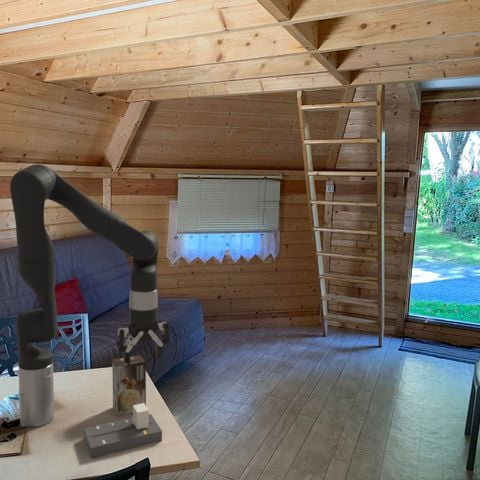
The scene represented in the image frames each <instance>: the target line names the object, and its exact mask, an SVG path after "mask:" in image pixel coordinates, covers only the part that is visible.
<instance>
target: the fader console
mask: <svg viewBox="0 0 480 480" xmlns="http://www.w3.org/2000/svg"><path fill="white" fill-rule="evenodd" d="M83 437H84V438H83V439H84V442H85V445H86V448H87V450H88V454H89V457H90V459H92V460H93V459H94V458H95V459H96V458H99V457H103V456H107V455H111V454H115V453H118V452H119V453H120V452H123V451H127V450H132V449H136V448H139V447H142V446H147V445H151V444H155V443H160V442H163V431H162V429H161V427H160V425H159V424H158V423H157V421H156V419H155V418H154V416H153V415H152V413H149V427H146V428H142V429H138V430H137V428H136V426H135V425H134V423H133V417H131V418H126V419H122V420H118V421H112V422H109V423H104V424H99V425H95V426H94V425H93V426H90V427H89V426H88V427H85V428H84V429H83Z"/></svg>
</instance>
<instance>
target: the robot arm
mask: <svg viewBox="0 0 480 480" xmlns="http://www.w3.org/2000/svg"><path fill="white" fill-rule="evenodd" d="M9 191H10V197H11V199H10V200H11V203H12V208H13V213H14V220H15V221H14V222H15V233H16V234H15V235H16V236H15V237H16V247H17V248H16V249H17V252H16V253H17V254H16V255H17V270H18V274H19V276H20V278H21V279H22V281H23V282H24V283H25V284H26V286H28V287H29V288H30V290H31V291H32V292H33V293H34V294H35V295H36V297H38V299H39V301H40V302H41V305H42V308H43V309H41V308H40V309H28V310H27V309H26V310H21V311H19V312H18V313H17V315H16V317H15V319H16V320H15V332H16V340H17V343H16V344H17V354H18V355H17V356H18V358H17V359H18V360H17V361H18V362H17V363H18V365H17V366H18V403H19V404H18V407H19V422H20V423H19V424H20V427H21V428H25V427H26V428H27V427H28V428H37V427H41V426H44V425H48V424H49V423H51V422H52V421H53V420H54V418H55V396H54V394H55V392H54V391H55V389H54V355H53V353H52V351H50V350H48V349H47V348H42V347H39V346H36V345H34V344H35V343H43V342H49V341H54V340H55V339H56V337H57V334H58V325H59V324H58V323H59V322H58V313H57V301H56V290H55V289H56V288H55V287H56V285H55V284H56V281H55V280H56V270H55V269H56V261H55V260H56V258H55V257H56V254H55V246H54V243H53V241H52V239H51V237H50V235H49V233H48V231H47V229H46V225H45V204H46V200H49V201H52V202H54V203H57V204H59V205H60V206H62V207H64V208H66V209H67V210H68V211H69V212H71V214H73V215H74V217H76V219H77V220H78V221H79V222H80V223H81V224H82V225H83V226H84V227H86V229H88V230H89V231H91V232H93V233H94V234H96V235H97V236H99V237H101V238H103V239H104V240H106V241H109V243H110V242H111V243H112V244H114V245H115V246H116V247H117V248H119V249H120V251H122V252H124V253H125V254H127V255H128V256H129V257H131V258H132V268H131V272H130V291H129V301H128V305H129V306H128V307H129V309H128V310H129V313H128V314H129V320H128V321H129V324H128V327H121V326H118V327H117V333H116V349H117V350H118V351H119V352H123V357H124V362H125V363H126V364H127V365H130V356H131V350H132V349H133V347H135V346H136V344H137V343H143V342H150V341H151V340H153V341H154V342H155V352H154V354H155V355H154V356H155V359H156V360H161V358H162V356H163V346H164V345H167V344H169V343H170V330H169V329H170V328H169V327H170V326H169V324H168V323H167V322H166V321H165V320H162V321H161V322H159V323H158V309H159V308H158V303H159V301H158V299H159V298H158V275H157V272H158V271H157V267H158V258H159V257H158V256H159V240H158V237H157V236H156V235H155V234H154V233H153V232H151V231H148V230H142V231H140V230H138V229H137V228H135V227H133V226H132V225H130V223H129V222H128V221H127V220H125V218H123V217H122V216H120V215H118V214H116V213H115V212H113V211H111V210H109V209H107V208H105V207H104V206H103V205H101V204H99V203H97V202H96V201H94V200H92V199H91V198H90V197H88V196H87V195H85V194H84V193H82V192H81V191H80V190H79V189H77V188H76V187H74V186H73V185H72V184H70V182H68V181H67V180H66V179H64V178H63V177H62V176H60V175H59V174H58V173H57V172H55V170H53V169H51V168H50V167H48V166H46V165H43V164H39V163H37V164H31V165H29V166H27V167H25V168H23V169H21V170H19V171H17V172H16V173H14V174H13V176H12V178H11V179H10V185H9ZM159 329H160V330H161V338H159V337H158V336H157V334H156V333H157V332H158V330H159ZM127 334H129V336H128V337H127V340H126V342H124V341H125V337H126V336H127ZM32 343H34V344H32Z"/></svg>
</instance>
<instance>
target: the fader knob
mask: <svg viewBox="0 0 480 480" xmlns="http://www.w3.org/2000/svg"><path fill="white" fill-rule="evenodd" d="M149 414H150V411H149V408H148V407H147V404H146V405H145V404H144V403H142V404H137V405H133V413H132V418H133V423H134V425H135V426H136V428H137V430H138V429H142V428H146V427H149Z"/></svg>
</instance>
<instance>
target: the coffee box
mask: <svg viewBox="0 0 480 480" xmlns="http://www.w3.org/2000/svg"><path fill="white" fill-rule="evenodd" d="M111 363H112V366H111V367H112V368H111V369H112V372H111V373H112V408H113V411H114V412H115V414H116V416H117V417H119V416H124V415H129V414H133V405H137V404H142V403H144V404H145V405H146V406H147V378H146V377H147V367H146V361H145V359H144V357H142V355H141V354H138V355H132V356H131V355H130V365H127V364H126V363H125V362H124V356H123V357H118V358H112V360H111Z"/></svg>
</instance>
